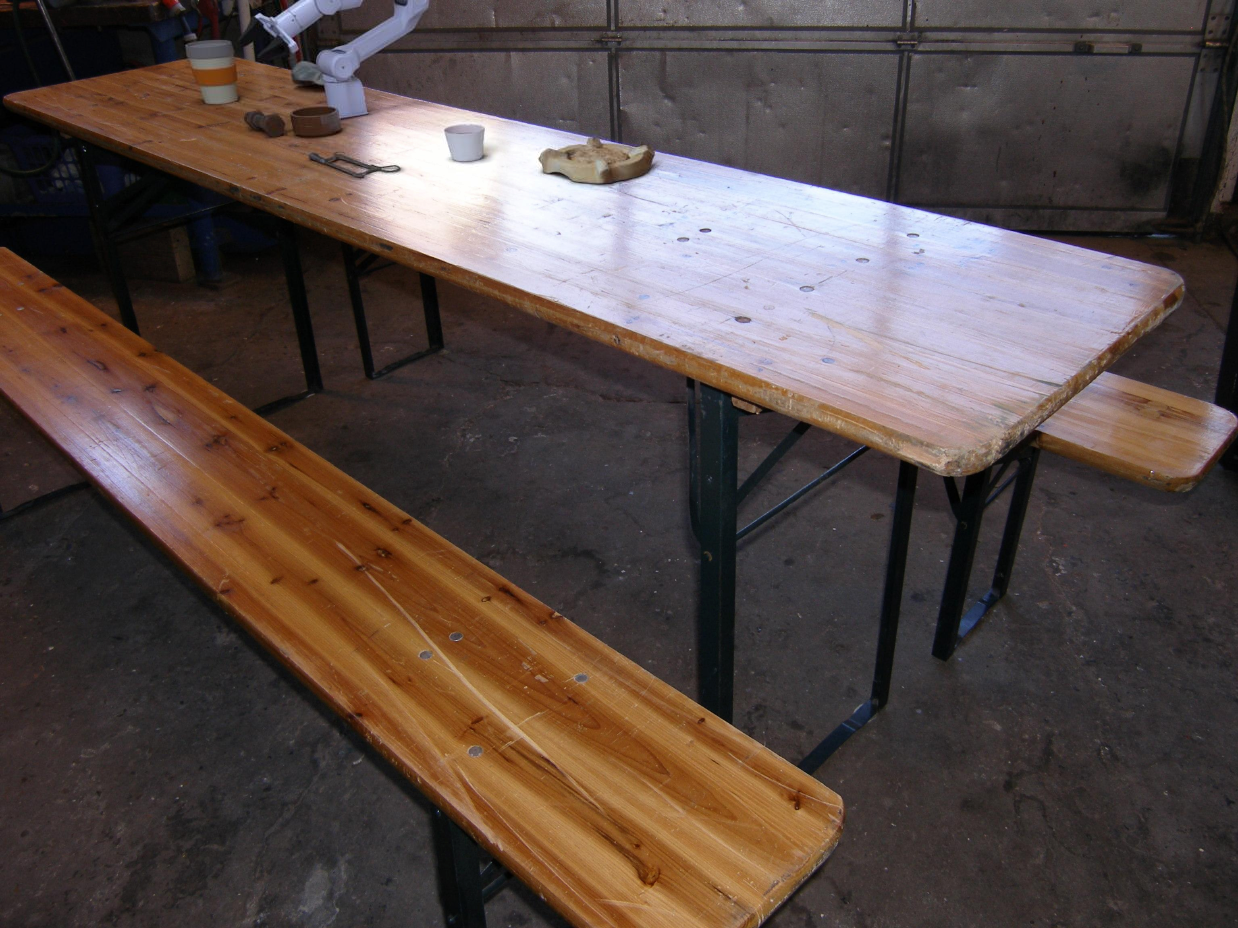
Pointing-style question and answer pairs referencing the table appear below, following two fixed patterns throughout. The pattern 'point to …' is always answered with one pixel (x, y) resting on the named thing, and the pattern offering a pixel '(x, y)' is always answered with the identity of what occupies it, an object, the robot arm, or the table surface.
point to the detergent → (307, 74)
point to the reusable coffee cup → (214, 70)
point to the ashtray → (598, 161)
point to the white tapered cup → (465, 141)
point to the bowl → (315, 121)
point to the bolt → (265, 123)
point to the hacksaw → (371, 167)
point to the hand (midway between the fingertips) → (249, 52)
